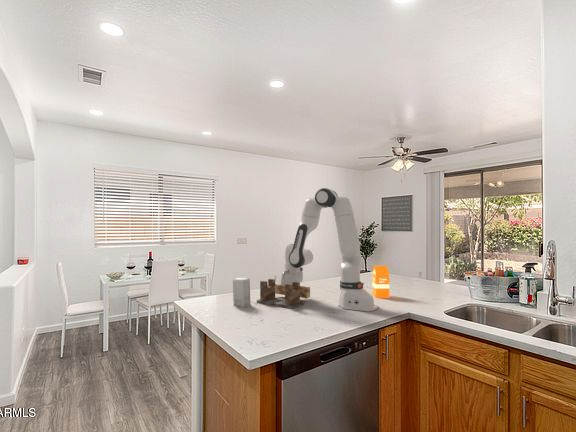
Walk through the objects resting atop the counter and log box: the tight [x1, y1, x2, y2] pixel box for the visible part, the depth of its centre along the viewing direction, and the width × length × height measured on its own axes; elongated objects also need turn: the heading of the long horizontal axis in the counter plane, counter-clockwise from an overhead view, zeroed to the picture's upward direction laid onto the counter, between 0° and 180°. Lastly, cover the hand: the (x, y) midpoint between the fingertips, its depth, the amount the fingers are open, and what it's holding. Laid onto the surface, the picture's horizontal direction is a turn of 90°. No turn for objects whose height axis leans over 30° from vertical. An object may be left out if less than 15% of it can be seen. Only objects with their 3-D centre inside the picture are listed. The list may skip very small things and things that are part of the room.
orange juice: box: [372, 265, 390, 299], centre depth 207 cm, size 8×9×20 cm
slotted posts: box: [256, 278, 305, 310], centre depth 189 cm, size 26×12×13 cm, turn 57°
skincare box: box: [232, 277, 252, 308], centre depth 186 cm, size 8×7×16 cm
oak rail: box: [275, 282, 311, 299], centre depth 200 cm, size 24×4×6 cm, turn 54°
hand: (292, 291), depth 200 cm, fingers closed on oak rail, 4 cm apart
